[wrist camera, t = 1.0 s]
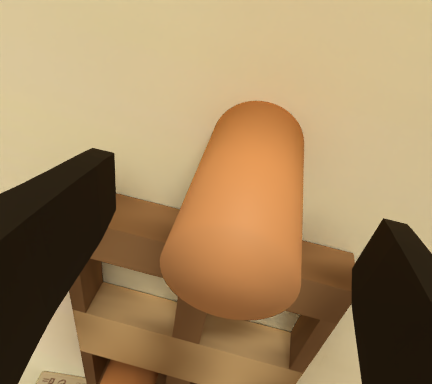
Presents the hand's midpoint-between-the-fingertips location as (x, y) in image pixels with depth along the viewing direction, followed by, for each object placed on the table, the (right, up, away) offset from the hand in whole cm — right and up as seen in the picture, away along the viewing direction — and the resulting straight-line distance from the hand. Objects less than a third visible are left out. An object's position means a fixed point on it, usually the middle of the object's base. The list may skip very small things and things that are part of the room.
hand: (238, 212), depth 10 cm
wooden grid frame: (-2, -7, +11) cm, 14 cm away
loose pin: (+1, +2, +3) cm, 4 cm away
